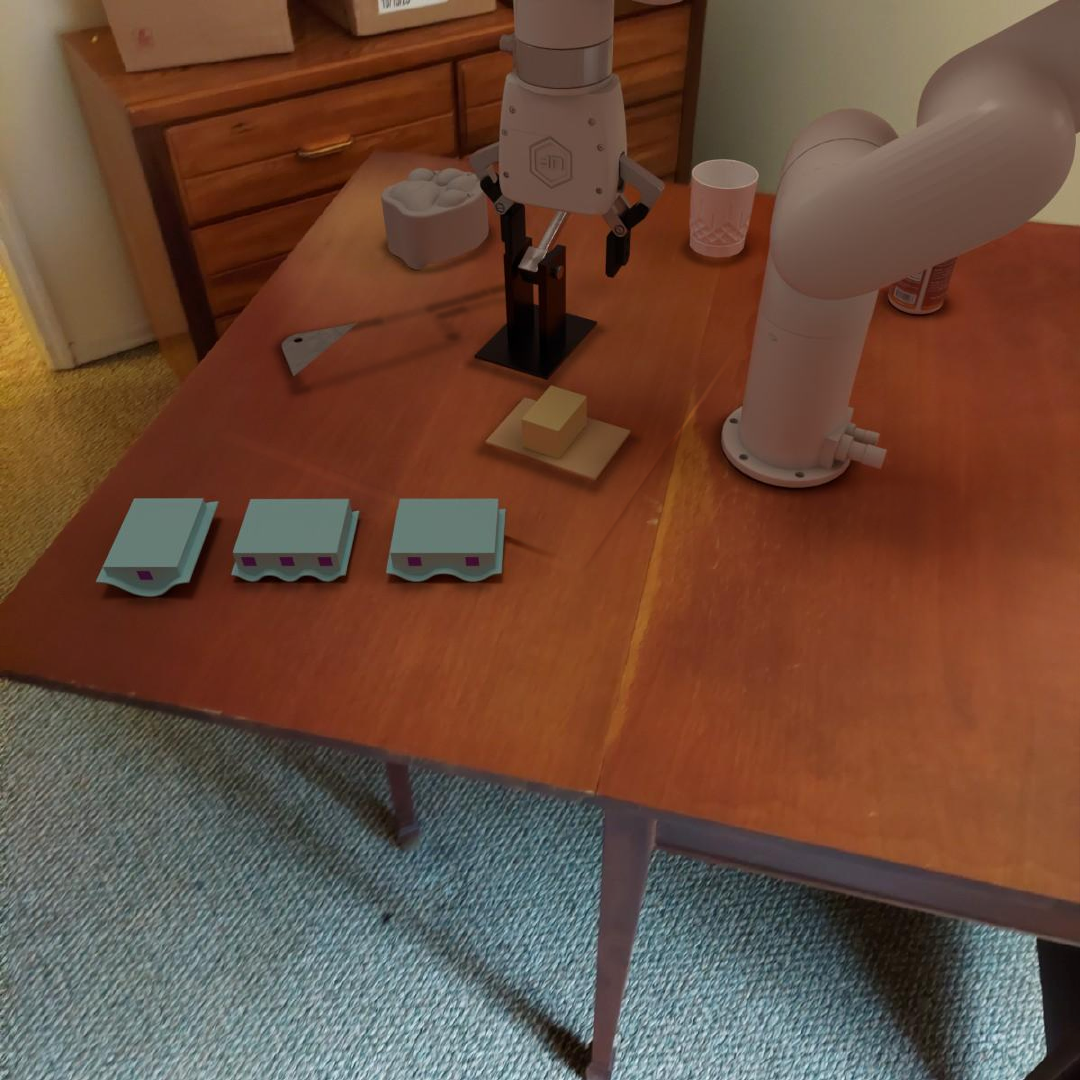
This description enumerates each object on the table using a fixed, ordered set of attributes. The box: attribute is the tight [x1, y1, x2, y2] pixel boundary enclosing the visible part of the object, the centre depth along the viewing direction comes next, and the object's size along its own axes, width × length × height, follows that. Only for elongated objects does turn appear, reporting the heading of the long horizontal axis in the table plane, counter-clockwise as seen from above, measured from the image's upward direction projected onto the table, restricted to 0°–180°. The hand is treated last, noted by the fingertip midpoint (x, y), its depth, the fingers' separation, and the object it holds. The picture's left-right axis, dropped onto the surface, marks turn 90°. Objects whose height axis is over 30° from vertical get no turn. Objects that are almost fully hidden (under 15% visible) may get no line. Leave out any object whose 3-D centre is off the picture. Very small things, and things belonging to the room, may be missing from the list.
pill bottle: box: [887, 256, 959, 315], centre depth 108 cm, size 6×6×11 cm
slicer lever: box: [518, 210, 572, 286], centre depth 101 cm, size 16×5×2 cm, turn 152°
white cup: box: [688, 158, 760, 259], centre depth 117 cm, size 8×8×10 cm
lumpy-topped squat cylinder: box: [380, 167, 490, 271], centre depth 120 cm, size 10×13×9 cm
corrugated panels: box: [95, 497, 507, 598], centre depth 84 cm, size 34×3×10 cm
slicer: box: [474, 235, 598, 381], centre depth 102 cm, size 12×9×12 cm
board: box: [485, 396, 632, 482], centre depth 94 cm, size 12×8×1 cm, turn 62°
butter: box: [521, 385, 588, 459], centre depth 93 cm, size 6×4×4 cm, turn 152°
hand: (564, 260), depth 86 cm, fingers open, 9 cm apart
